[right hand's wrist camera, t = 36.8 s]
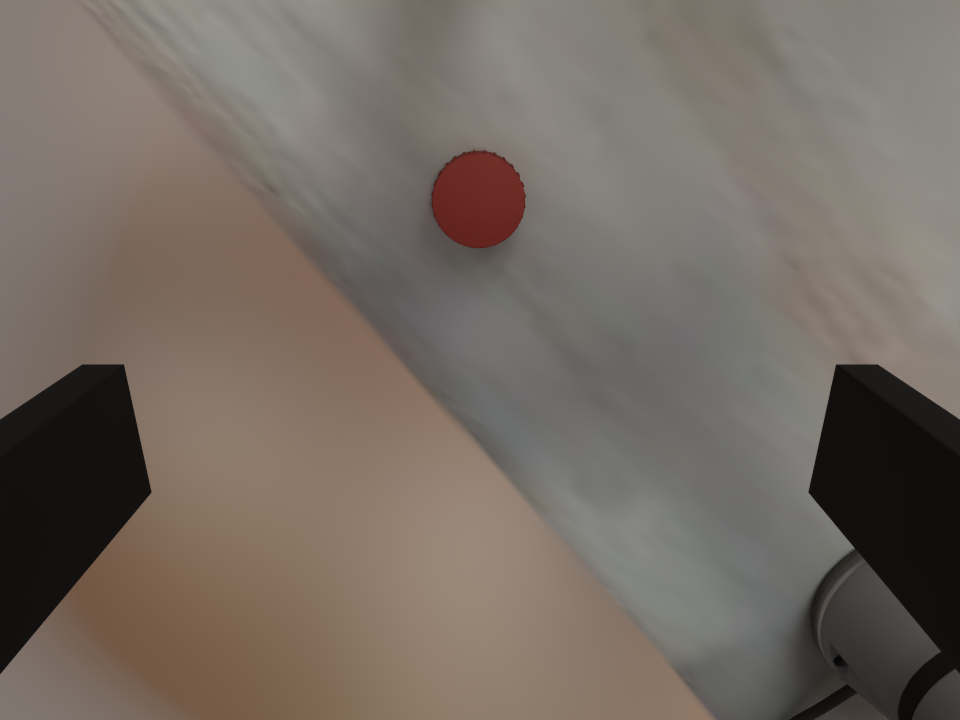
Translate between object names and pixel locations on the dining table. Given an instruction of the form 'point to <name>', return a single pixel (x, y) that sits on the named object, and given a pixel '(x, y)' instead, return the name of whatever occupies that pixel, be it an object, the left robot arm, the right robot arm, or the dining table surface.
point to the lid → (478, 199)
